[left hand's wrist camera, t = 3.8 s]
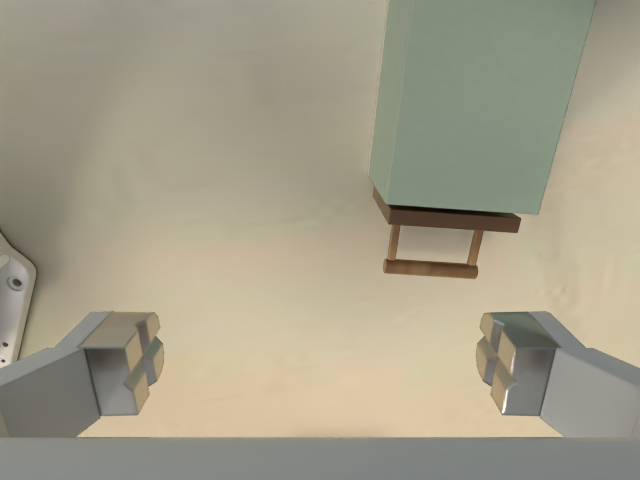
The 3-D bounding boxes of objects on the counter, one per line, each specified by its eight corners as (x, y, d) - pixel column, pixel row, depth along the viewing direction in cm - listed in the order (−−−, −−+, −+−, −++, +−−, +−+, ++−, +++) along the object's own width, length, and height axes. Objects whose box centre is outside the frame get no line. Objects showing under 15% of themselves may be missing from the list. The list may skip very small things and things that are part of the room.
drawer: (464, 257, 41) (501, 297, 33) (366, 250, 41) (378, 290, 33) (523, -19, 33) (591, -53, 25) (400, -30, 32) (429, -69, 24)
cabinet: (482, 183, 40) (538, 215, 30) (367, 175, 39) (385, 204, 29) (534, -60, 33) (630, -125, 23) (396, -74, 32) (433, -146, 22)
